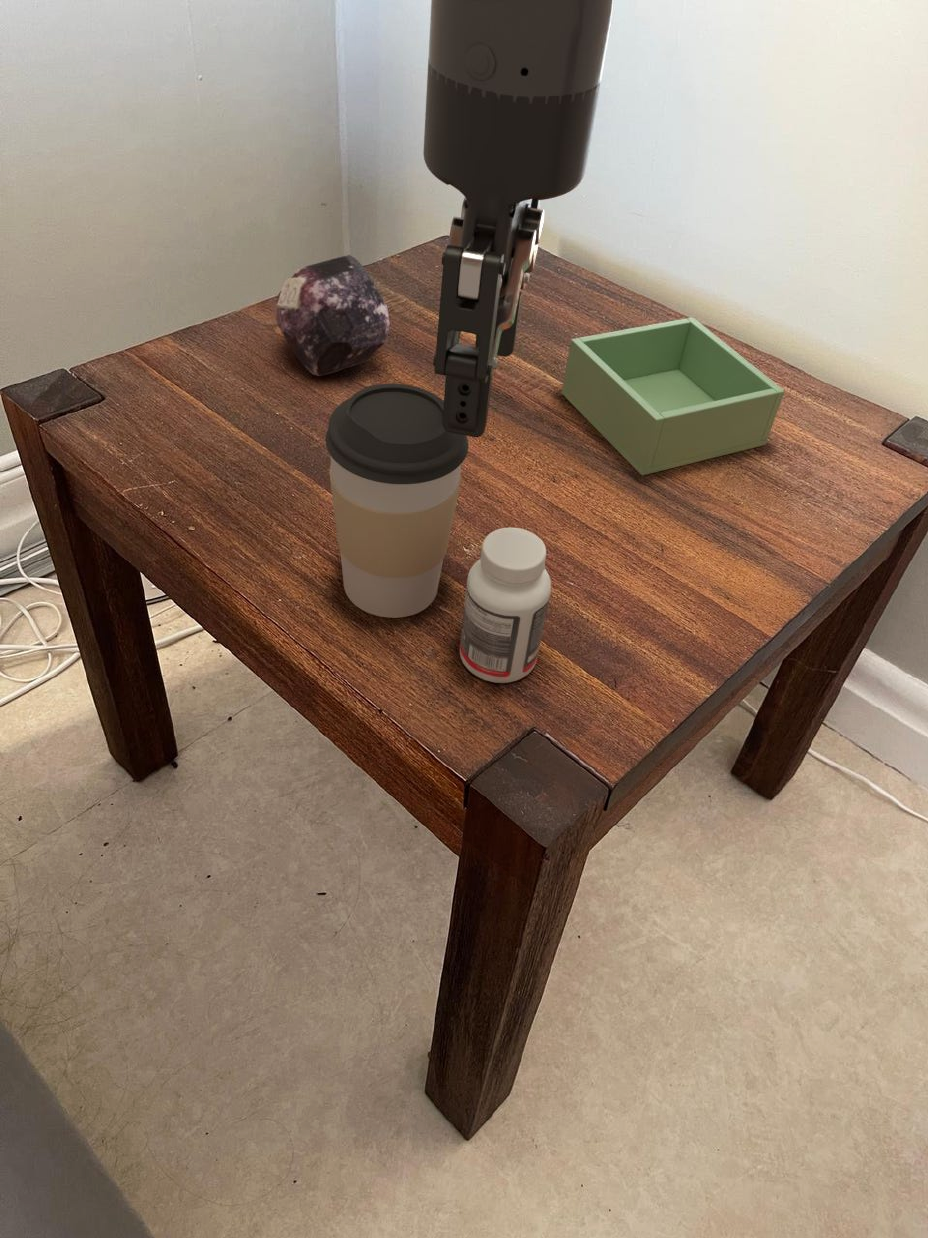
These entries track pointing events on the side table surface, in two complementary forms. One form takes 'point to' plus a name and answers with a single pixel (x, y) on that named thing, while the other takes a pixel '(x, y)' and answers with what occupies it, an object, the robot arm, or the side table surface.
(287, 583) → the side table surface
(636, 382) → the bin
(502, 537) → the pill bottle
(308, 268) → the mineral specimen
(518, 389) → the side table surface
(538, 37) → the robot arm
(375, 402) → the coffee cup
